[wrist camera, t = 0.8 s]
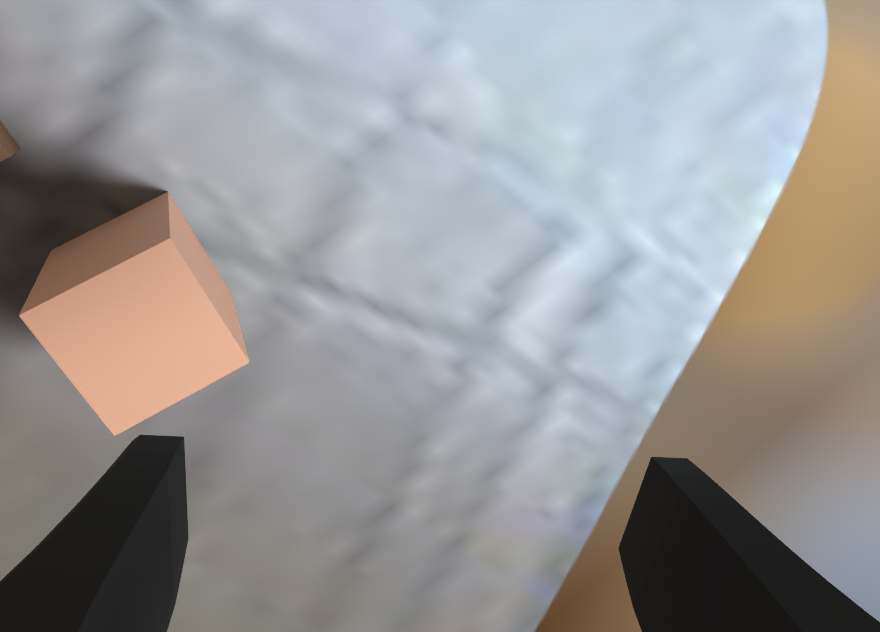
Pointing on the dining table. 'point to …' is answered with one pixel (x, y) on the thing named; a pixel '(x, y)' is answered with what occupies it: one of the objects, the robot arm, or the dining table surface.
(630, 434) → the dining table surface
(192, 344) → the pink block
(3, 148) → the peg stand
